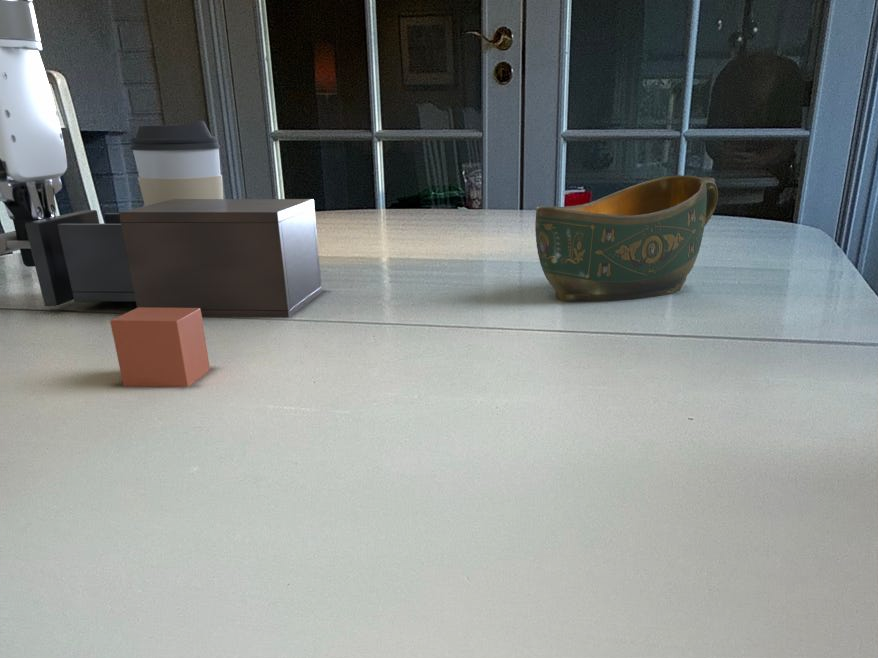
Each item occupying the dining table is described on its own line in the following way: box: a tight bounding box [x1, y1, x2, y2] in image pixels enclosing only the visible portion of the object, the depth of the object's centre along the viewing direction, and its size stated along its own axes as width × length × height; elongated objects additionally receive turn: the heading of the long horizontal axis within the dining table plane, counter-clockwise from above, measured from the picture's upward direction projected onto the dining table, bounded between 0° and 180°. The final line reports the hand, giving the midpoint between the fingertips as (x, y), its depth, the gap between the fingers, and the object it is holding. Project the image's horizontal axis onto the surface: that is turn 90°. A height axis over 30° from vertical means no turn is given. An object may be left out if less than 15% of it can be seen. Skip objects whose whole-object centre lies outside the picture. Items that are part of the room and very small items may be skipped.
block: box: [109, 307, 211, 388], centre depth 60 cm, size 4×4×4 cm
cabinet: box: [118, 198, 323, 318], centre depth 82 cm, size 14×13×9 cm
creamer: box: [534, 174, 719, 303], centre depth 86 cm, size 13×20×10 cm, turn 98°
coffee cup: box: [130, 120, 224, 206], centre depth 96 cm, size 9×9×15 cm
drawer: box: [0, 209, 136, 307], centre depth 83 cm, size 18×11×7 cm, turn 85°
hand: (44, 264), depth 84 cm, fingers closed
